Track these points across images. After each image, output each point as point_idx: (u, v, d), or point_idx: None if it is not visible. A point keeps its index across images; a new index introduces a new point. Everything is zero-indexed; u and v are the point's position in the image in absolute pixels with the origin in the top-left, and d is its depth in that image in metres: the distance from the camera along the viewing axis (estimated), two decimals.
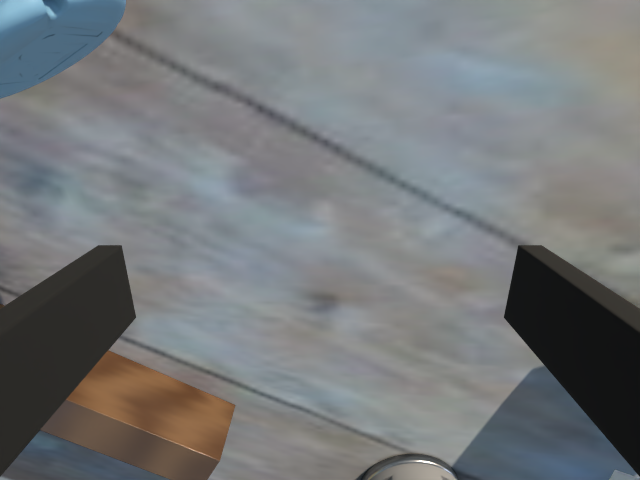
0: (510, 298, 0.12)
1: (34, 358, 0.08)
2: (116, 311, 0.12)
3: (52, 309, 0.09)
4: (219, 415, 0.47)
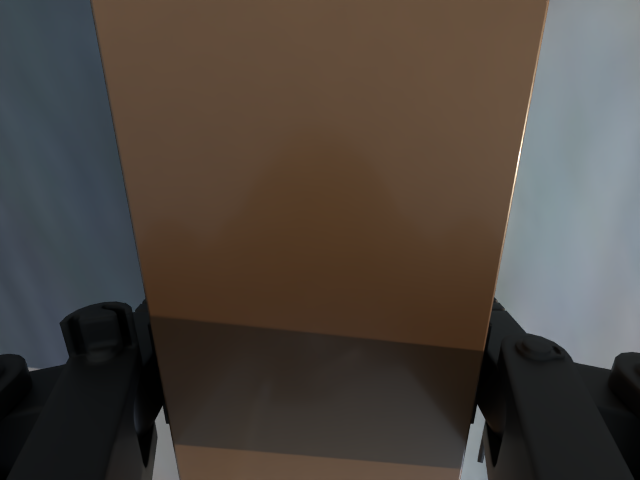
0: None
1: None
2: None
3: None
4: None
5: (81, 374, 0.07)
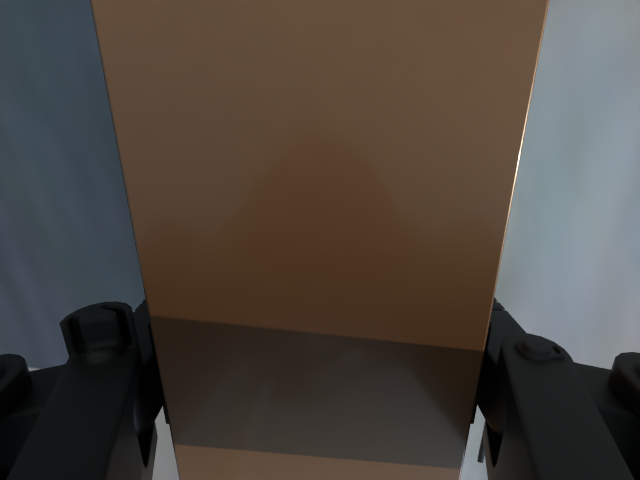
0: None
1: None
2: None
3: None
4: None
5: (81, 374, 0.07)
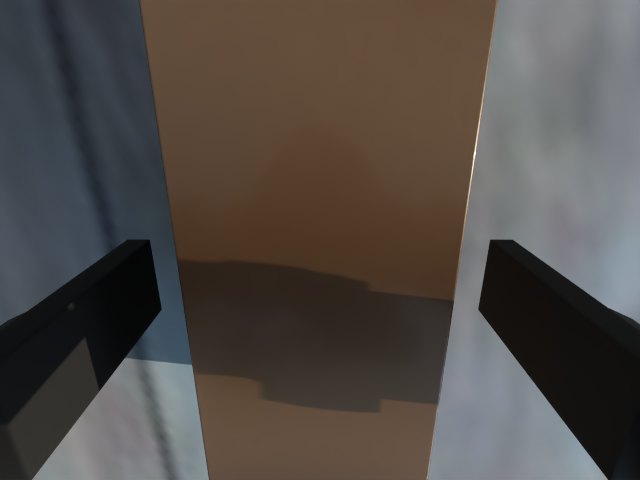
0: (483, 290, 0.13)
1: (79, 344, 0.09)
2: (145, 303, 0.12)
3: (93, 298, 0.09)
4: None
5: None
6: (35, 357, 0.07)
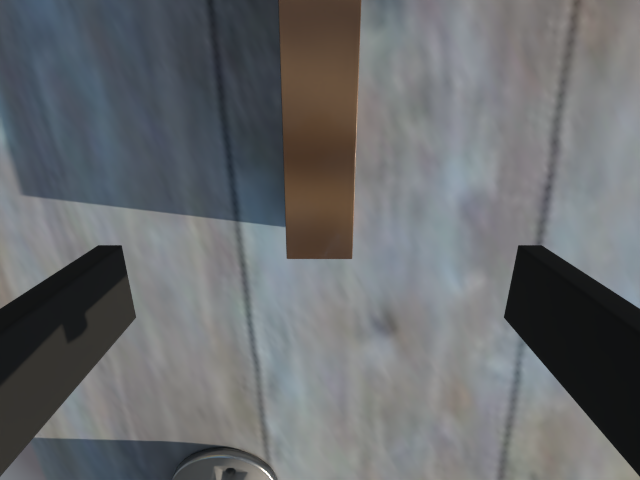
0: (510, 298, 0.12)
1: (34, 358, 0.08)
2: (116, 311, 0.12)
3: (52, 309, 0.09)
4: None
5: None
6: None
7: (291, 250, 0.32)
